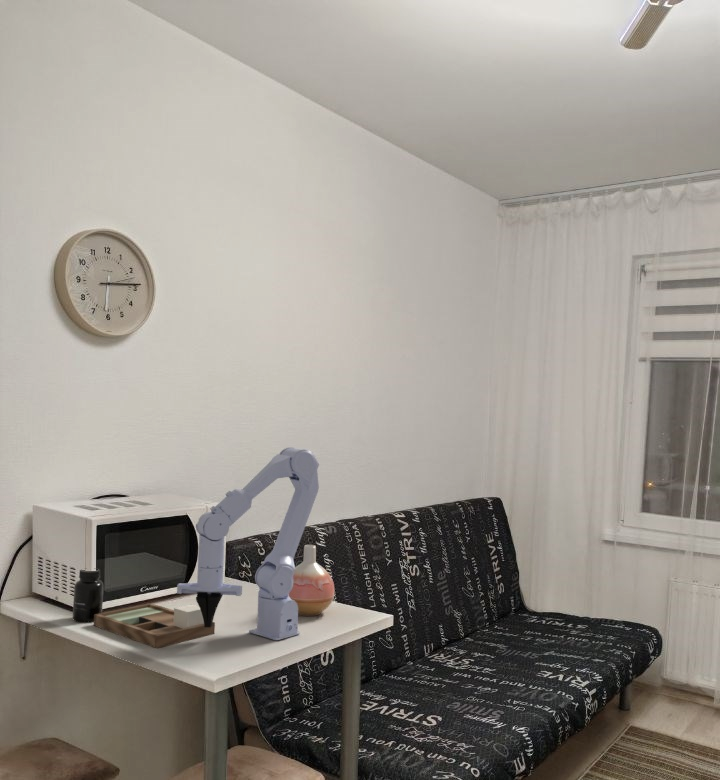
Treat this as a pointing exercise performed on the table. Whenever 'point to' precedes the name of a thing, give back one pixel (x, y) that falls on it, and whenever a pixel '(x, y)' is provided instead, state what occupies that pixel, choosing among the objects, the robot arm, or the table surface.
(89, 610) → the supplement bottle
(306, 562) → the vase
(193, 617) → the cream block
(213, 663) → the table surface
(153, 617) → the tray
